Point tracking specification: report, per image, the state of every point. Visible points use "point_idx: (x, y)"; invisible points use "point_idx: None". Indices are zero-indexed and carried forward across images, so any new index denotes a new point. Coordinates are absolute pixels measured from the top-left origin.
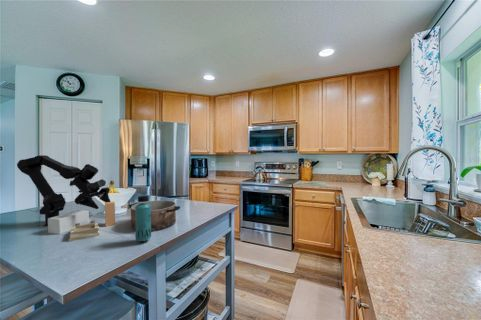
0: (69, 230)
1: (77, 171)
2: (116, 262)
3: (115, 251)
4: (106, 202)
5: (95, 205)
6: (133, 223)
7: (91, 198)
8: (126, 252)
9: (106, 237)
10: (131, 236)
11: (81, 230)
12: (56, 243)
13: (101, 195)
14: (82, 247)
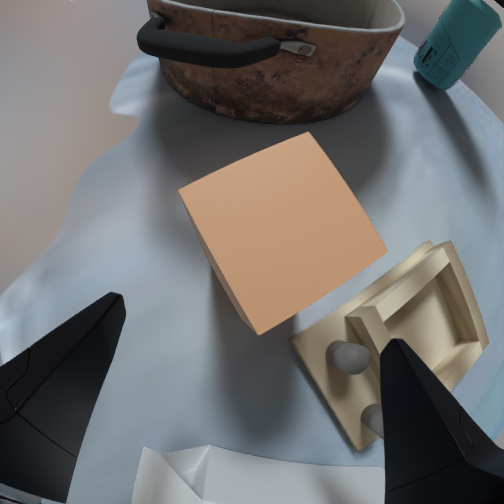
0: (338, 466)
1: None
2: (501, 129)
3: (483, 138)
4: (256, 303)
5: (431, 372)
6: (366, 84)
7: (493, 465)
8: (476, 115)
9: (435, 198)
10: (408, 108)
11: (471, 314)
12: (470, 379)
13: (22, 501)
14: (493, 246)
